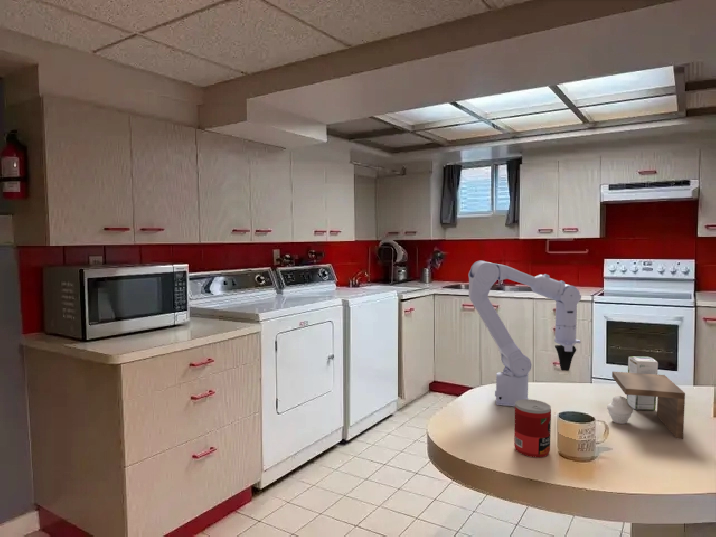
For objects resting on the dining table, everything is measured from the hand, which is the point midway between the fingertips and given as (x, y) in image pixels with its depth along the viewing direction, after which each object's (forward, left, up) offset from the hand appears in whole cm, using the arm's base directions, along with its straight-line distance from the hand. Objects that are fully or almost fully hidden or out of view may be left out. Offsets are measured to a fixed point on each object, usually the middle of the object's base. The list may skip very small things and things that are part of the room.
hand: (564, 370), depth 146 cm
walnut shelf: (+19, -12, -10) cm, 24 cm away
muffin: (+13, -12, -10) cm, 20 cm away
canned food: (-11, -37, -10) cm, 40 cm away
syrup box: (+21, +2, -10) cm, 23 cm away
